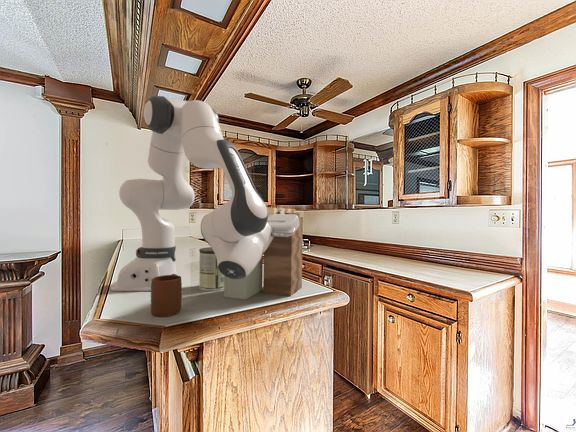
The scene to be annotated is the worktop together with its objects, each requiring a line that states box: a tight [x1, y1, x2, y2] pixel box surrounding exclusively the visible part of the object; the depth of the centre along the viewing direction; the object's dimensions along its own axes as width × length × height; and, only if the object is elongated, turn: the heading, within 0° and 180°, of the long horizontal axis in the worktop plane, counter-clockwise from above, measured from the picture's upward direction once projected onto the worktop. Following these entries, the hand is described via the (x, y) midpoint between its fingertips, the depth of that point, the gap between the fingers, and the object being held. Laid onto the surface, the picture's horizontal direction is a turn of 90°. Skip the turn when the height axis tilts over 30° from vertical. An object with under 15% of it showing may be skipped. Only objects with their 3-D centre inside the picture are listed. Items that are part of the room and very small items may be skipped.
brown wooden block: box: [262, 212, 304, 297], centre depth 100 cm, size 12×10×28 cm
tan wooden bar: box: [267, 207, 296, 214], centre depth 96 cm, size 20×4×3 cm, turn 160°
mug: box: [150, 274, 183, 318], centre depth 78 cm, size 12×8×9 cm, turn 6°
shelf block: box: [223, 253, 264, 300], centre depth 95 cm, size 12×8×26 cm, turn 160°
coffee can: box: [198, 246, 224, 292], centre depth 102 cm, size 10×10×14 cm
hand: (274, 211), depth 91 cm, fingers closed on tan wooden bar, 4 cm apart
